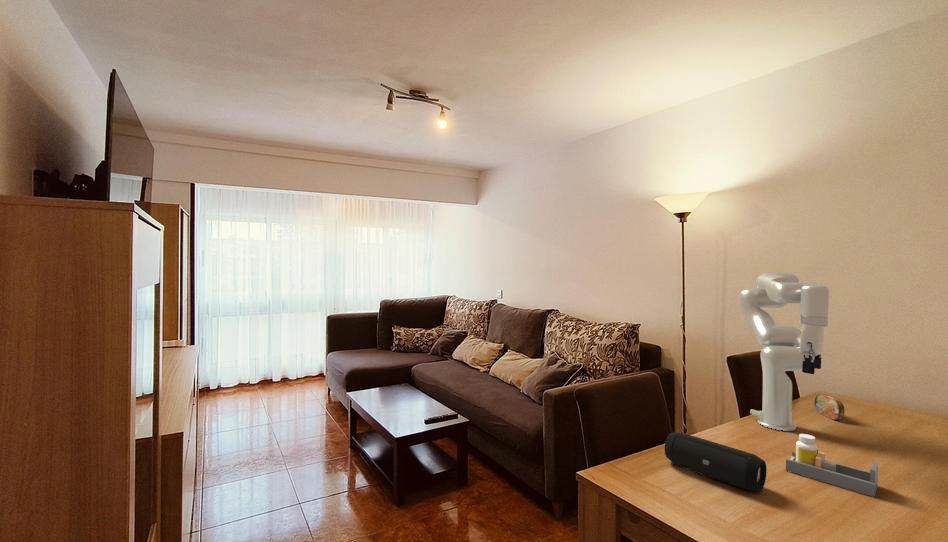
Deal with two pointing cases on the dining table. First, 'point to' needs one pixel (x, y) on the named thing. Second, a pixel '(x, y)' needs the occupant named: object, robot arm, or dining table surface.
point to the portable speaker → (716, 461)
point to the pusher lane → (839, 475)
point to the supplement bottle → (806, 449)
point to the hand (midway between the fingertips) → (811, 370)
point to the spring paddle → (824, 463)
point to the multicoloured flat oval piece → (829, 407)
